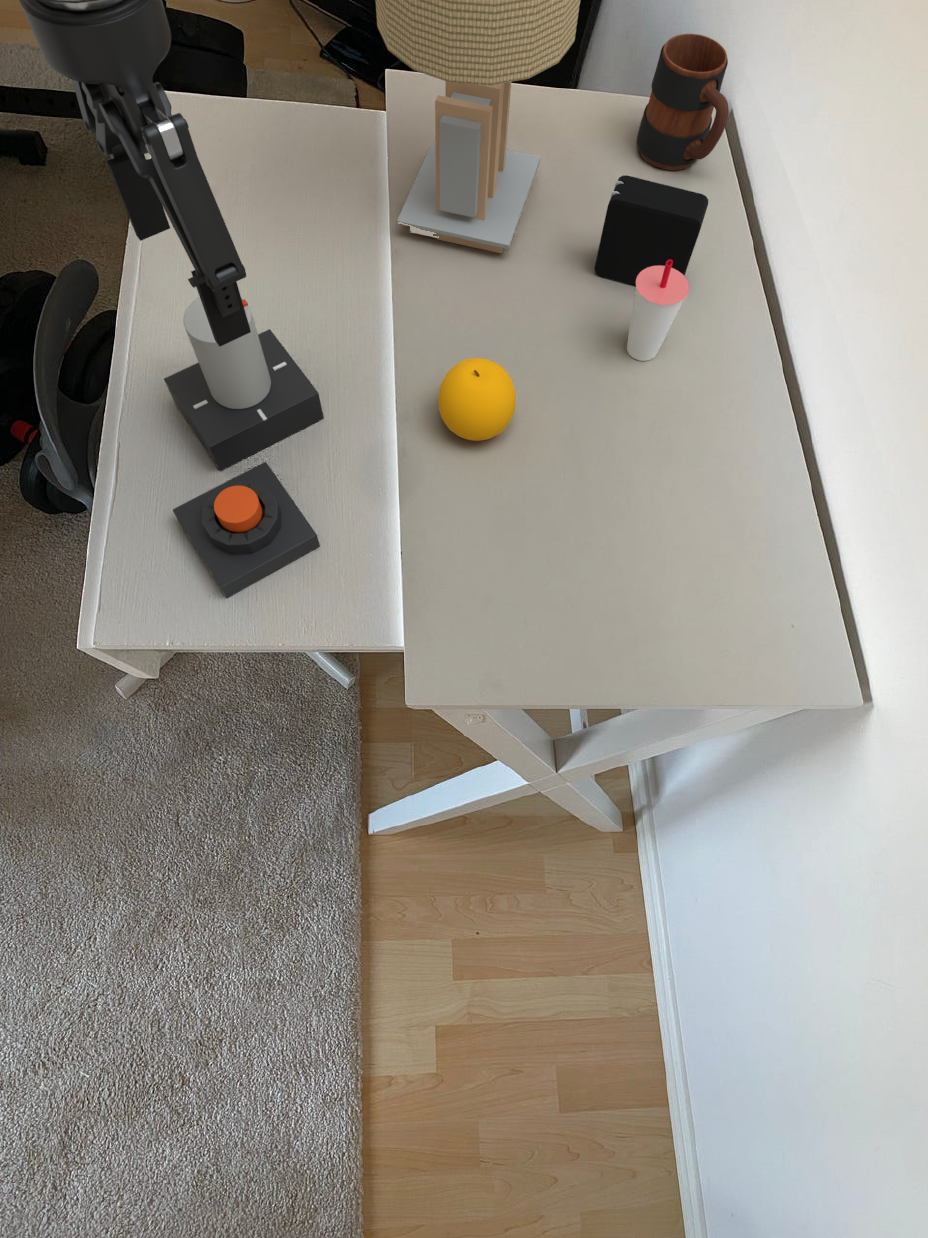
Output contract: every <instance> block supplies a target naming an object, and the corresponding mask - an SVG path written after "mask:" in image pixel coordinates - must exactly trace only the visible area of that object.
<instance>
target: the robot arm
mask: <svg viewBox="0 0 928 1238" xmlns="http://www.w3.org/2000/svg"><path fill="white" fill-rule="evenodd" d="M18 1H19V3H20V6H21V8H22V10H23V12H24V15H25V17H26V19H27V22H28V24H29V27H30V29H31V31H32V33H33V36H34V39H35V40H36V43H37V45H38V48H39V50H40V52H41V54H42V56H43V59H44V60H45V62H46V63H47V64H48V65H49V66H50V67H51V69H52V70H54V71H55V72H57V73H58V74H60V75H61V76H63V77H65V78H67V79H69V80H72V84H73V88H74V91H75V95H76V98H77V102H78V106H79V109H80V113H81V117H82V120H83V125H84V128H85V129H86V131H88V133H90V135H91V136H92V135H94V134H96V135H95V136H96V137H95V138H96V144H97V147H98V150H99V152H101V153H102V154H103V156H104V157H108V156H109V157H110V158H109V159H108V160H106V161H105V162H106V164H107V167H108V169H109V171H110V174H111V177H112V179H113V181H114V184H115V186H116V189H117V191H118V194H119V196H120V199H121V201H122V203H123V206H124V208H125V211H126V213H127V216H128V218H129V221H130V223H131V225H132V228H133V231H134V233H135V236H136V237H137V238H138V240H139V241H144V240H146V239H148V238H151V237H153V236H156V235H158V234H161V233H163V232H166V231H167V230H169V229H171V226H172V227H173V229H174V231H175V233H176V236H177V237H178V239H179V242H180V243H181V245H182V247H183V249H184V251H185V253H186V255H187V257H188V259H189V261H190V263H191V264H192V267H193V268H194V269H193V270H191V271H190V273H191V276H192V277H189V278H187V280H188V283H189V284H190V286H191V287H192V288H196V290H197V293H198V295H199V297H200V299H201V302H202V305H203V307H204V310H205V313H206V316H207V319H208V322H209V325H210V328H211V330H212V333H213V336H214V339H215V341H216V343H217V344H218V345H219V347H221V346H223V345H225V344H227V343H229V342H231V341H233V340H235V339H237V338H240V337H242V336H244V335H246V334H248V333H250V332H251V330H250V327H249V323H248V320H247V316H246V313H245V309H244V306H243V302H242V299H243V298H242V295H241V292H240V289H239V286H238V281H241V280H243V279H245V278H247V272H246V267H245V266H244V264H243V262H242V260H241V258H240V256H239V253H238V251H237V249H236V246H235V244H234V241H233V239H232V236H231V234H230V232H229V229H228V227H227V224H226V222H225V220H224V217H223V215H222V212H221V210H220V207H219V205H218V202H217V200H216V198H215V196H214V193H213V191H212V188H211V186H210V184H209V181H208V179H207V176H206V173H205V172H204V169H203V167H202V166H203V165H201V162H200V159H199V156H198V154H197V150H196V148H195V145H194V141H193V139H192V135H191V133H190V132H191V131H190V129H189V124H188V121H187V120H186V119H185V118H184V116H183V115H182V113H180V112H178V113H174V114H172V104H171V102H170V100H169V97H168V96H167V93H166V91H165V89H164V87H163V86H162V84H161V82H159V81H157V82H154V80H153V78H154V77H153V76H154V74H155V72H156V70H157V68H158V67H159V66H160V64H161V63H162V62H163V61H164V60H165V59H166V57H167V55H168V53H169V51H170V48H171V44H172V32H171V27H170V24H169V20H168V16H167V13H166V10H165V6H164V3H163V0H18ZM147 154H148V155H150V157H151V158H148V159H147V158H146V156H145V155H147ZM168 220H169V221H170V223H171V226H170V223H169V221H168ZM241 298H242V299H241Z"/></svg>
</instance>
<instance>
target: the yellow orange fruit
mask: <svg viewBox="0 0 928 1238" xmlns="http://www.w3.org/2000/svg"><path fill="white" fill-rule="evenodd" d="M437 398H438V399H437V405H438V410H439V414H440V418H441V420H442V421H443V423H444V424H445V426H446V427H447V428H448V430H450V432H452V433H453V434H455V435H456V436H458V437H460V438H462V439H465V440H468V441H475V442H476V441H478V442H479V441H485V440H489V439H492V438H494V437H496V436H498V435H499V434H501V433H502V432H503V431H504V430H505V429H507V427H508V426H509V425H510V422H511V420H512V419H513V416H514V415H515V412H516V407H517V406H516V403H517V392H516V387H515V385H514V382H513V379H512V377H511V375H510V374H509V373H508V371H507V370H506V369H505V368H504V367H503V366H502V365H500V364H499V363H497V362H496V361H494V360H491V359H487V358H484V357H483V358H482V357H472V358H465V359H464V360H461V361H459V362H457V363H456V364H454V366H452V367H451V368H450V369H449V370H448V371H447V373H446V374H445V376H444V377H443V379H442V381H441V383H440V385H439V390H438V397H437Z"/></svg>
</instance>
